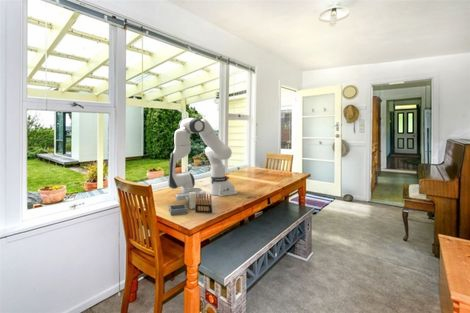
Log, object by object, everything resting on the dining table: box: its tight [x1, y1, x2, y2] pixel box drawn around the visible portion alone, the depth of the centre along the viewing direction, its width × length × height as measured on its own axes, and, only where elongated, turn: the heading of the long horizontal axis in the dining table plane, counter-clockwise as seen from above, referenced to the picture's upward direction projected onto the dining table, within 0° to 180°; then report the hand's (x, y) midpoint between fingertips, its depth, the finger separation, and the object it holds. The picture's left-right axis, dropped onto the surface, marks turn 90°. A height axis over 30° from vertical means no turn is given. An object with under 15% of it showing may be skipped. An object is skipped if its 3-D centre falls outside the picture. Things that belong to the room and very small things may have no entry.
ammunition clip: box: [194, 193, 213, 214], centre depth 157 cm, size 11×2×12 cm, turn 81°
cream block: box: [188, 192, 196, 210], centre depth 165 cm, size 4×4×10 cm
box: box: [168, 203, 188, 216], centre depth 158 cm, size 10×10×3 cm
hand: (193, 198), depth 164 cm, fingers closed on cream block, 4 cm apart
